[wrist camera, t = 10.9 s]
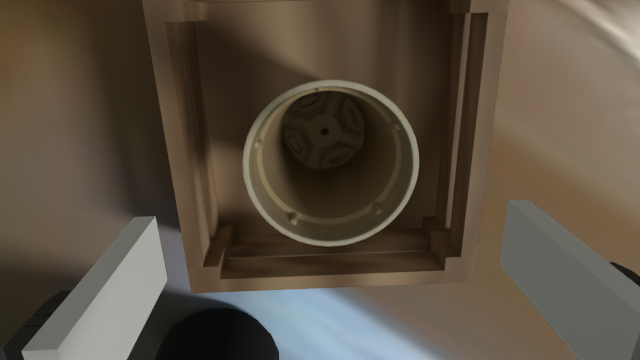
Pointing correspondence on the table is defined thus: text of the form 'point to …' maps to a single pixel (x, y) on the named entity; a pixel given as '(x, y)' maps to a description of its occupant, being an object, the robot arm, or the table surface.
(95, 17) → the table surface
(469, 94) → the crate
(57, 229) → the table surface
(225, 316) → the coffee jar
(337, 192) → the flower pot
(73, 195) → the table surface
